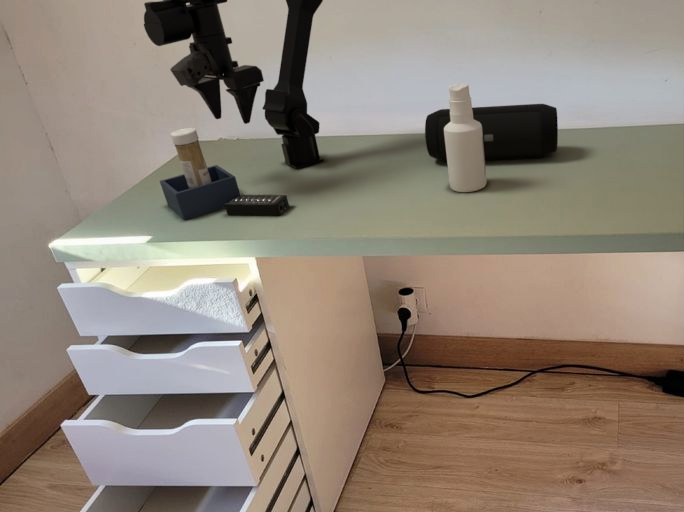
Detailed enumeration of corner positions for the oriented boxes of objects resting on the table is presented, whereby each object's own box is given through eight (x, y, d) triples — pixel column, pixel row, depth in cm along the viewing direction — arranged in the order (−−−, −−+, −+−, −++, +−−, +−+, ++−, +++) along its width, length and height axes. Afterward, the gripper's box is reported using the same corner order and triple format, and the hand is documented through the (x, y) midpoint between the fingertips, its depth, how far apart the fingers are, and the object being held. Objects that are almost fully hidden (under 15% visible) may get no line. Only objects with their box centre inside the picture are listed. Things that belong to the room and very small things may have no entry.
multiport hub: (238, 205, 135) (235, 194, 133) (290, 206, 132) (287, 194, 130) (226, 215, 131) (222, 203, 130) (279, 216, 128) (276, 203, 127)
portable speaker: (428, 168, 142) (421, 118, 137) (437, 152, 150) (431, 104, 145) (555, 163, 137) (554, 110, 132) (558, 146, 146) (557, 96, 140)
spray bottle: (491, 180, 133) (483, 80, 123) (480, 193, 128) (471, 90, 118) (457, 179, 135) (446, 81, 126) (445, 192, 130) (433, 91, 120)
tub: (224, 189, 144) (216, 164, 141) (242, 202, 136) (235, 176, 133) (168, 205, 139) (159, 180, 136) (184, 220, 131) (175, 194, 128)
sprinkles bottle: (220, 199, 137) (198, 130, 129) (196, 206, 135) (173, 136, 127) (213, 194, 140) (191, 125, 133) (190, 200, 138) (167, 131, 131)
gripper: (141, 42, 129) (169, 128, 137) (200, 45, 118) (226, 138, 127) (193, 29, 136) (217, 112, 144) (253, 32, 125) (275, 121, 134)
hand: (232, 120), depth 137 cm, fingers open, 9 cm apart
